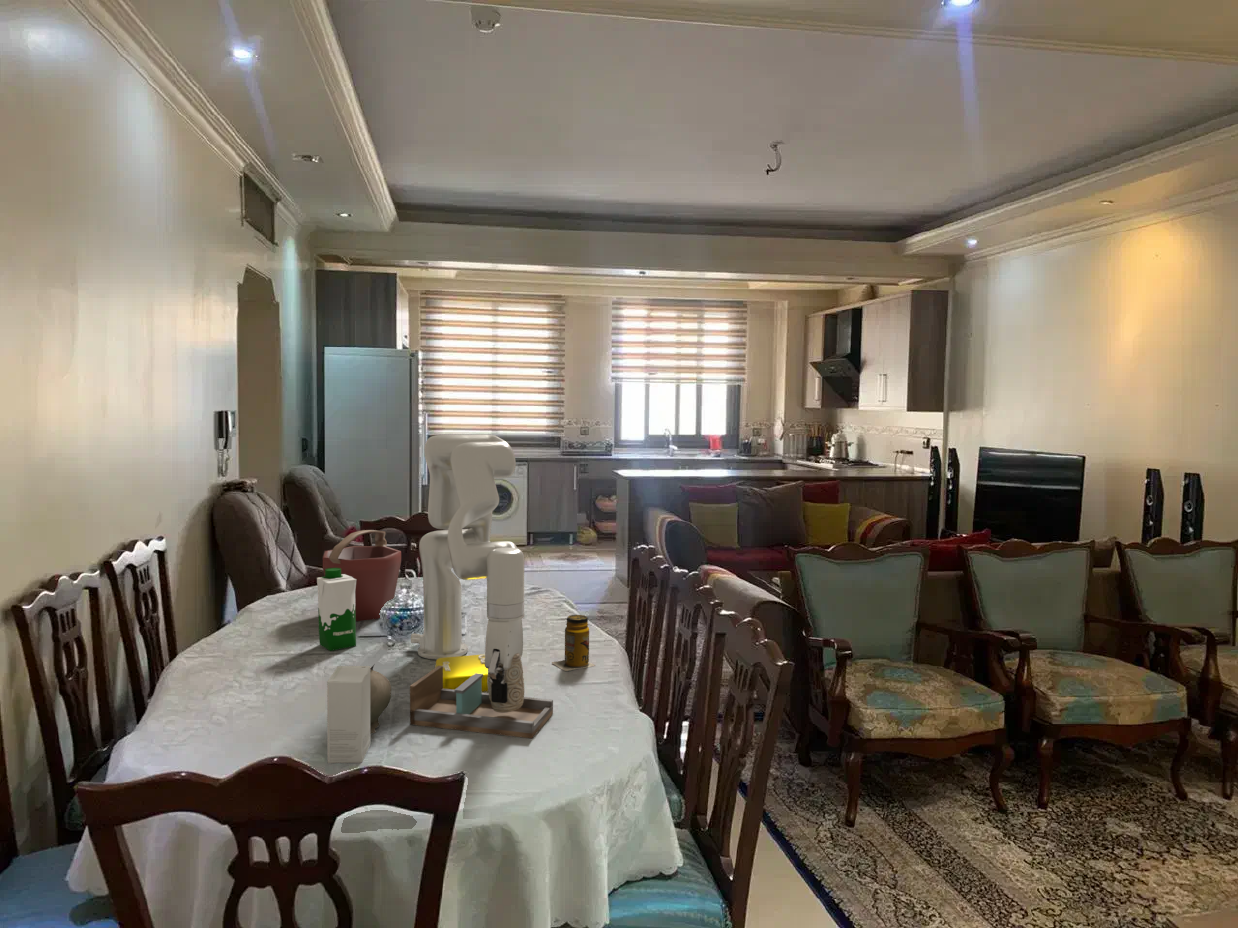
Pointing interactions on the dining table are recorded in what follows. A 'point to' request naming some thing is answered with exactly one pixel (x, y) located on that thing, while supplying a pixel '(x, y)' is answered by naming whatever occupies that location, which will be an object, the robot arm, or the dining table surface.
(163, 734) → the dining table surface
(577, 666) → the condiment
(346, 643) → the milk carton
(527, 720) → the pusher lane
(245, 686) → the dining table surface
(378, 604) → the bucket
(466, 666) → the yellow rounded box
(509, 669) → the carving
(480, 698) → the pusher plate
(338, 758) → the skincare box
